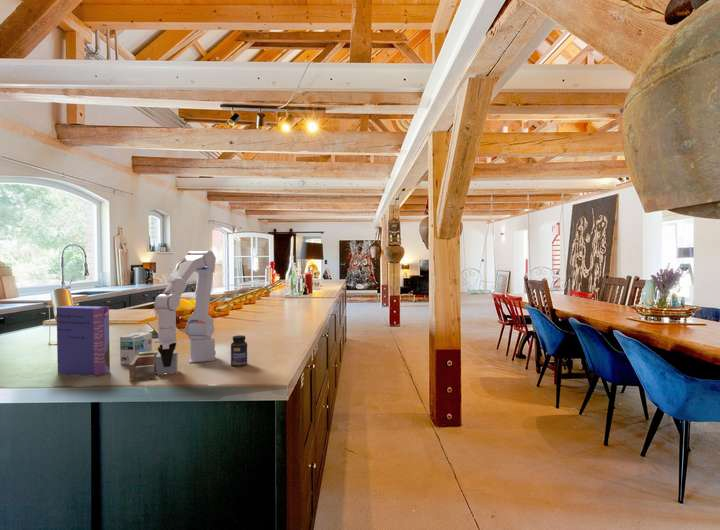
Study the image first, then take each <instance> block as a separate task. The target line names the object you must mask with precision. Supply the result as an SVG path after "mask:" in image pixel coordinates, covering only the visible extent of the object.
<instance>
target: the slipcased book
mask: <svg viewBox="0 0 720 530" xmlns="http://www.w3.org/2000/svg"><path fill="white" fill-rule="evenodd" d="M177 372H178V373H179V353H178V352H176V353H175V352H173V355H172V361H171V366H170V367H164V366H163V362H162V357H161V355H160V353H159V354H158V355H156V370H155V375H156V374H164V373H176V374H178V373H177Z"/></svg>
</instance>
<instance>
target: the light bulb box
mask: <svg viewBox="0 0 720 530" xmlns="http://www.w3.org/2000/svg"><path fill="white" fill-rule="evenodd" d="M119 344H120V345H119V346H120V347H119V352H120V356H119V357H120V359H119V360H120V361H119V363H120V365H130V363H131V362H132V360H133V359H134V357H135V356H136V355H138V354H139V352H147V351H153V333H152V332H140V331H139V332H135V333H134V332H133V333H131V334H127V335H123V336H120V337H119Z"/></svg>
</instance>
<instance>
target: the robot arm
mask: <svg viewBox="0 0 720 530" xmlns="http://www.w3.org/2000/svg"><path fill="white" fill-rule="evenodd" d="M216 259H217V257H216V255H215V254H214V252H213V251H212V250H189V251H188V252H187V253H186V255H185V256H184V264H183V266H182V268H181V270H180V271H179V273H178V275H177V277H173V278H172V279H171V280H170V282H169V283H168V285H167V286H166V288H165V289H164V291H162V293H160V294H159V295H157V296H156V297H155V299H154V302H153V306H154V309H155V310H156V314H157V321H158V322H157V323H158V325H157V326H158V329H157V331H158V333H157V334H158V335H157V337H158V338H157V339H155V340H154V343H155V344H157V343H158V344H159V346H158V347H157V351H158V353H159V354H160V355H161V357H162V362H163V366H164V367H170V366H171V361H172V355H173V353H175V350H176V346H177V344H178V343H177V340H178V339H177V324H176V322H177V320H176V319H177V314H176V312H177V309H178V307H179V306H180V302H181V299H182V297H181V296H182V295H183V293H184V292H185V290H186V288H187V281H188V280H189V278H190V277H191V276H192V275H193V273H194V272H196V273H197V274H198V281H197V288H196V294H195V295H196V296H195V304H194V312H193V314H191V315H190V316H189V317H188V318H187V319H188V320H187V322H186V325H185V327H184V328H185V329H184V330H185V335H186V336H188V339H189V340H190V341H189V343H190V346H189V348H190V352H189V353H190V354H189V355H190V356H189V360H188V362H189V363H192V364H193V363H200V362H202V363H203V362H211V361H215V359H216V352H217V351H216V349H215V347H216V346H215V345H216V344H215V343H216V342H215V341H216V340H215V336H213V335H214V331H215V326H214V325H215V324H214V320H215V319H214V318H213V317H212V316H211V315H209V309H210V300H211V292H212V287H213V286H212V285H213V277H214V272H215V267H216V261H217V260H216ZM212 336H213V337H212Z"/></svg>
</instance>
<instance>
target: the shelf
mask: <svg viewBox="0 0 720 530" xmlns="http://www.w3.org/2000/svg"><path fill="white" fill-rule="evenodd" d="M158 353H159V351H158V350H152V351H147V352H139V354H138V355H136V356H135V357H134V359H133V360H132V362H131V363H130V364H128V365H129V370H128V371H129V382H134V381H133V380H135V381H141V380H140V379H145V380H150V379H149V378H154V379H155V376H156V373H155V372H156V370H155V369H156V355H159V354H158ZM154 371H155V372H154ZM154 375H155V376H154Z"/></svg>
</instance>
